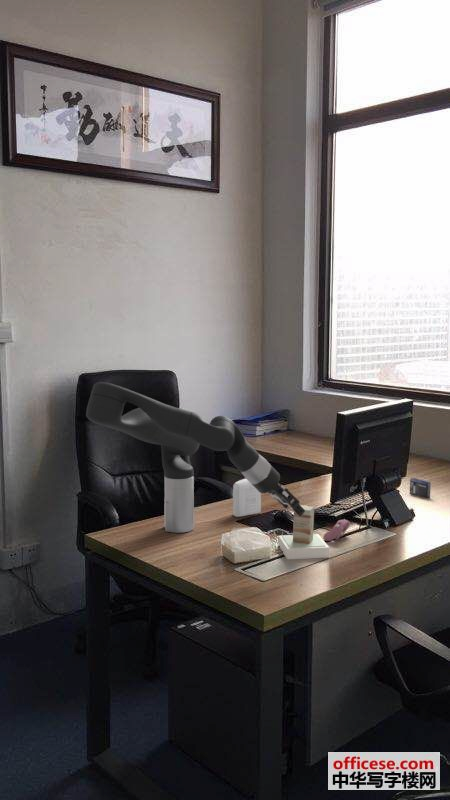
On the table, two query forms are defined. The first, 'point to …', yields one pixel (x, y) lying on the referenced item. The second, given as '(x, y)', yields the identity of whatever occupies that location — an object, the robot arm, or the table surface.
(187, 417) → the robot arm
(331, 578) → the table surface
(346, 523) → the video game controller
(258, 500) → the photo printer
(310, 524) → the skincare box
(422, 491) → the mini dv tape
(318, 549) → the plinth
